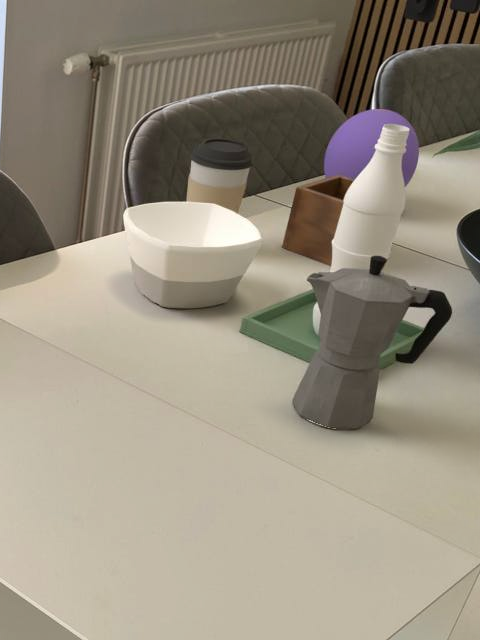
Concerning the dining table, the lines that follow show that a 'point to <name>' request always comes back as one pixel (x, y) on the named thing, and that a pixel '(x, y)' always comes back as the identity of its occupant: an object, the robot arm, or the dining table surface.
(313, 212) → the wooden box
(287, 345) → the tray
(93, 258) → the dining table surface
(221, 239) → the bowl
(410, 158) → the decorative ball
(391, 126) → the water bottle
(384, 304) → the coffeepot
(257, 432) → the dining table surface
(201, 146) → the coffee cup
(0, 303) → the dining table surface
